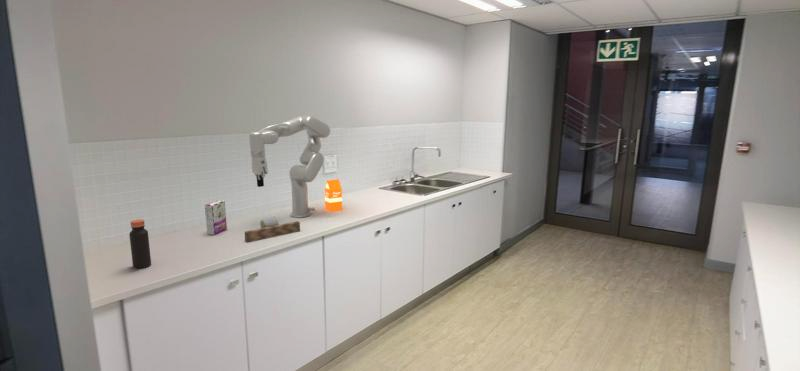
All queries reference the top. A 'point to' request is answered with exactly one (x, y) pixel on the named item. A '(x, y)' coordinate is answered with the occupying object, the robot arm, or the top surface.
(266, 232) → the walnut board
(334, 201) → the orange juice
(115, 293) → the top surface
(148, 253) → the bottle
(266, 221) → the ceramic mug
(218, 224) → the candy bar box
